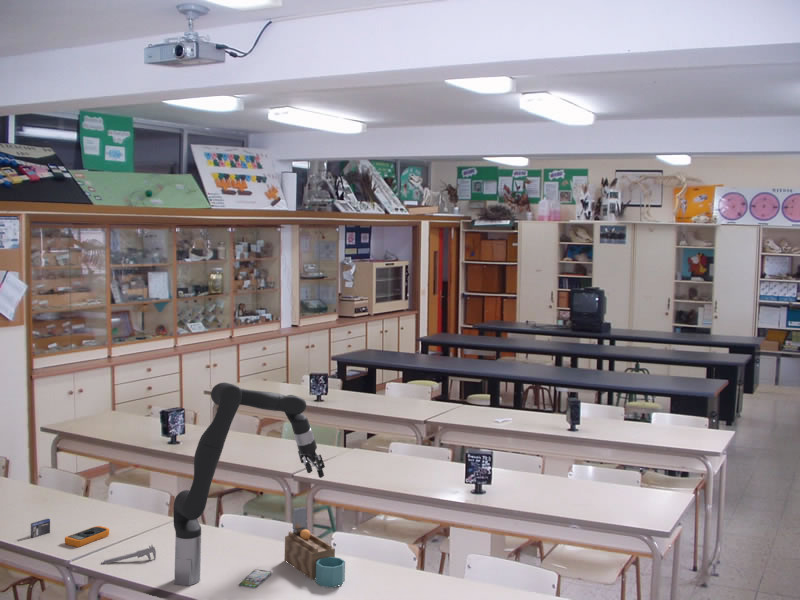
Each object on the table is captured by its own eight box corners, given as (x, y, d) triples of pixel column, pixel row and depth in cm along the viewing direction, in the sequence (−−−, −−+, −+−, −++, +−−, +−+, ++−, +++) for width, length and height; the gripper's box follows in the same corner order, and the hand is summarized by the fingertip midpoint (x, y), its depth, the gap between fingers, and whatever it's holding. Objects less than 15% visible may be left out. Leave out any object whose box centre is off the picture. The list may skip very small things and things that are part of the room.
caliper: (155, 559, 318) (155, 543, 318) (155, 560, 317) (155, 544, 317) (100, 563, 312) (101, 547, 311) (100, 564, 311) (101, 548, 310)
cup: (311, 579, 302) (312, 560, 302) (334, 574, 308) (335, 555, 308) (325, 589, 294) (325, 569, 293) (348, 583, 300) (349, 563, 299)
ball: (308, 541, 314) (309, 531, 314) (298, 540, 315) (299, 530, 315) (311, 538, 318) (311, 528, 318) (301, 537, 319) (302, 527, 319)
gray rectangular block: (292, 535, 320) (293, 508, 319) (303, 533, 323) (304, 506, 322) (296, 537, 318) (296, 510, 317) (307, 535, 320) (307, 508, 320)
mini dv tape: (32, 538, 336) (33, 524, 336) (30, 537, 337) (30, 523, 337) (49, 532, 343) (50, 519, 343) (47, 532, 344) (47, 518, 344)
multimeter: (111, 535, 343) (111, 528, 343) (78, 548, 327) (78, 540, 326) (97, 532, 347) (97, 524, 346) (63, 544, 330) (63, 536, 330)
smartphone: (237, 585, 294) (254, 569, 309) (237, 587, 294) (254, 571, 309) (256, 587, 292) (272, 571, 307) (256, 590, 292) (272, 574, 307)
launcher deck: (284, 560, 320) (285, 532, 320) (306, 556, 326) (307, 528, 326) (311, 579, 302) (312, 549, 302) (334, 574, 308) (335, 544, 308)
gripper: (288, 441, 332) (299, 475, 336) (307, 448, 321) (318, 483, 325) (302, 432, 336) (313, 466, 341) (322, 439, 325) (332, 474, 330)
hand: (315, 474), depth 333 cm, fingers open, 8 cm apart
